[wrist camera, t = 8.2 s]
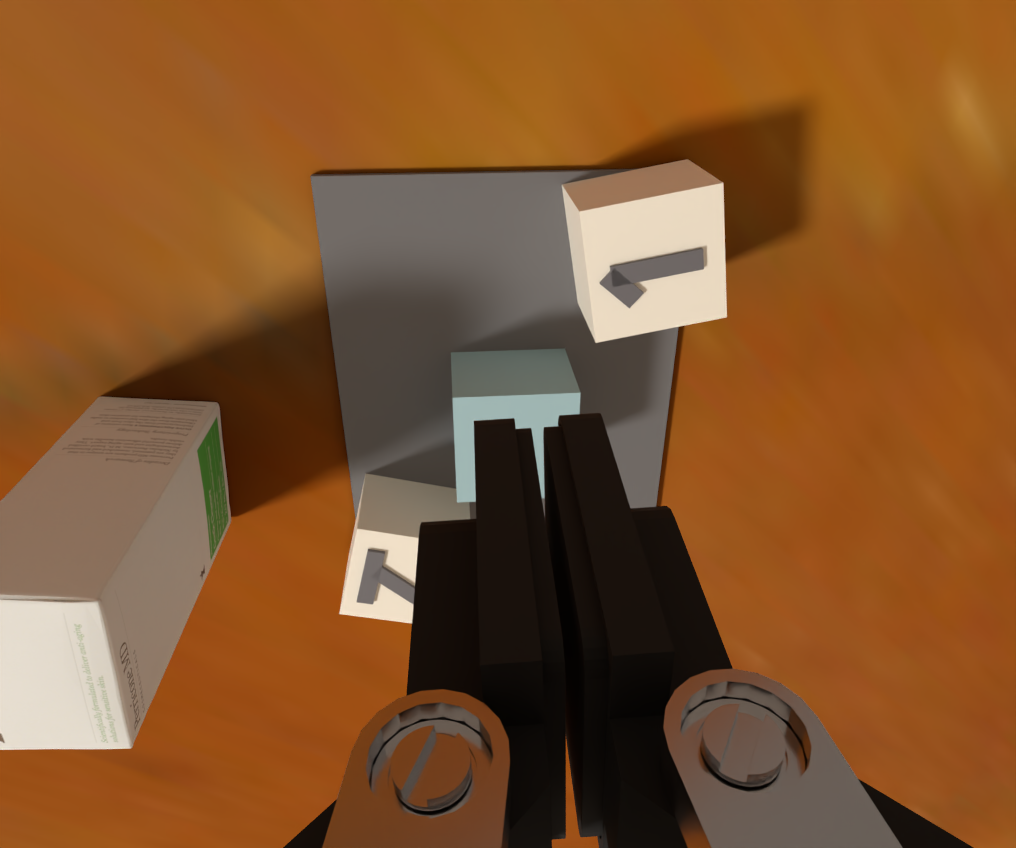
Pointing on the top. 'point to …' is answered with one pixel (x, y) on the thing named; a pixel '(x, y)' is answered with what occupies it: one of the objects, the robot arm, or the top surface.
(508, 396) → the plain block
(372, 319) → the mat
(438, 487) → the digit block seven
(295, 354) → the top surface
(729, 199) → the top surface
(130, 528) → the skincare box
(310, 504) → the top surface
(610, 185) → the digit block one
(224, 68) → the top surface
